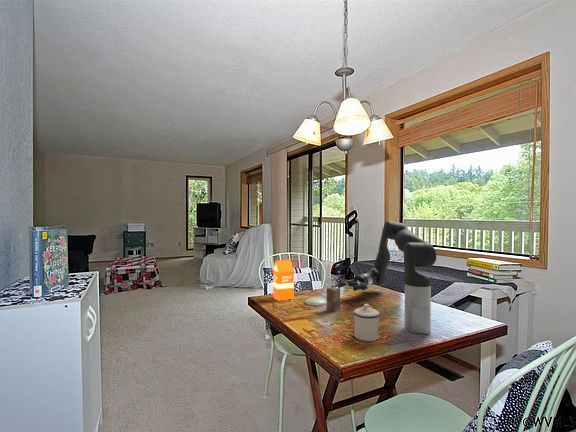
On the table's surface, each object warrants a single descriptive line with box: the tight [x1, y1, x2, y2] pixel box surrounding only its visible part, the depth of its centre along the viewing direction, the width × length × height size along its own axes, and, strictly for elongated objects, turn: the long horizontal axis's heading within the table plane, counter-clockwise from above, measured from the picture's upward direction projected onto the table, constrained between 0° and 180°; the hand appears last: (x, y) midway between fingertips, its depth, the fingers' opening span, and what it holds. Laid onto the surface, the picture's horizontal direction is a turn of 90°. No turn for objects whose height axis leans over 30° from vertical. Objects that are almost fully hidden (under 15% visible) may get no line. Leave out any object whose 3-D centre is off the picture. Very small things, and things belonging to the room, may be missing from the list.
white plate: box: [305, 296, 327, 307], centre depth 156 cm, size 11×11×1 cm
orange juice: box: [272, 259, 295, 302], centre depth 165 cm, size 8×9×20 cm
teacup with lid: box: [353, 303, 381, 342], centre depth 114 cm, size 12×9×12 cm
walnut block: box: [326, 286, 341, 313], centre depth 145 cm, size 4×4×10 cm
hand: (346, 287), depth 153 cm, fingers open, 8 cm apart
